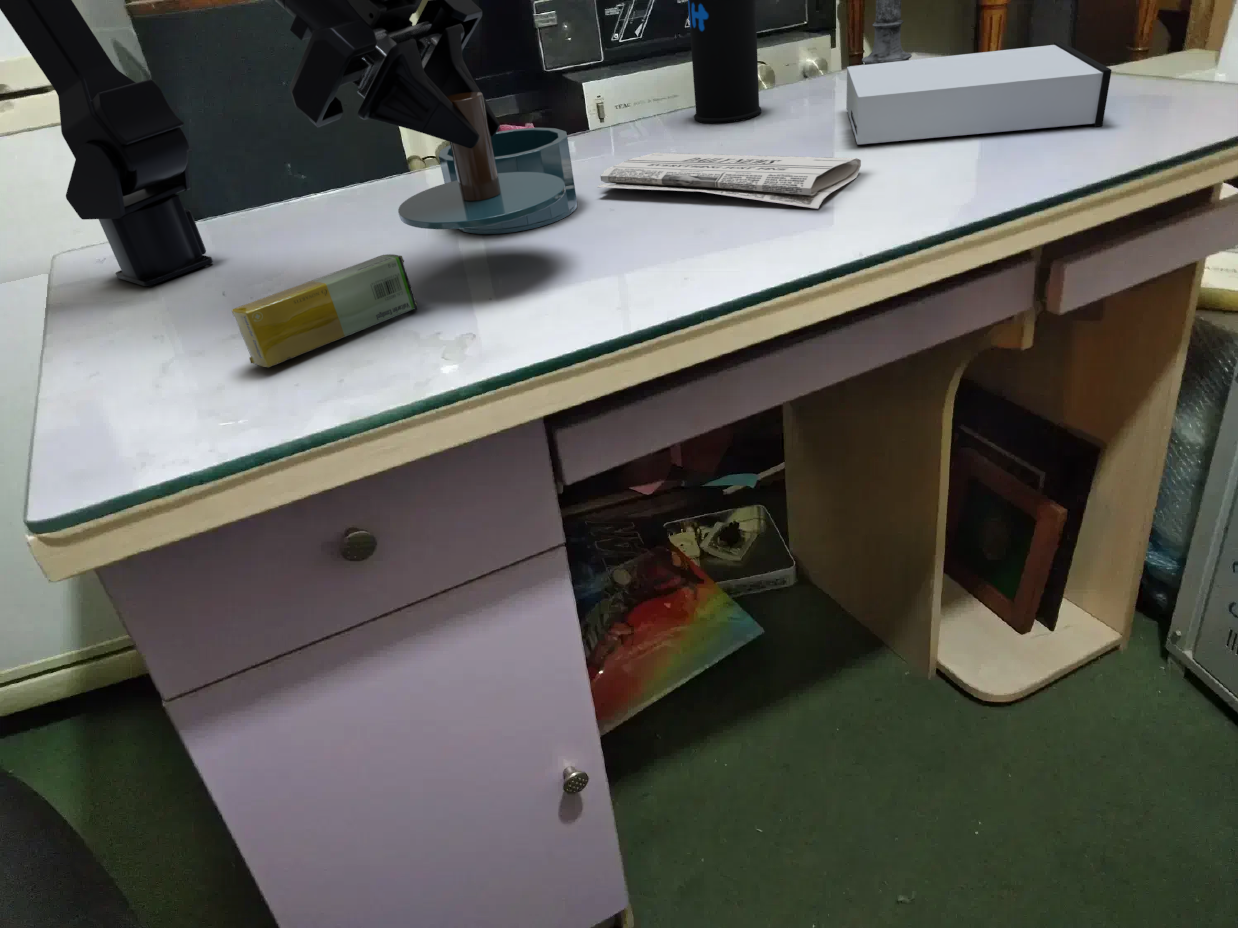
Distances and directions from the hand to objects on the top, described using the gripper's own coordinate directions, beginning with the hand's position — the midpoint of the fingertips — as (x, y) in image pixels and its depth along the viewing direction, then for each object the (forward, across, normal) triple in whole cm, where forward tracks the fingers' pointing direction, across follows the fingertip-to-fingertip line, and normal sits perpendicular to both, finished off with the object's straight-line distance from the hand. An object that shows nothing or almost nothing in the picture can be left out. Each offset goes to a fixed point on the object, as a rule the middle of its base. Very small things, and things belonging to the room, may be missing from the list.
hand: (486, 137), depth 63 cm
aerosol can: (+11, +52, +4) cm, 53 cm away
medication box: (+2, -13, +13) cm, 18 cm away
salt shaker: (+24, +62, -9) cm, 67 cm away
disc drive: (+30, +44, -16) cm, 56 cm away
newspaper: (+16, +22, -1) cm, 27 cm away
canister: (+3, +15, +12) cm, 19 cm away
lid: (+2, 0, +4) cm, 5 cm away
